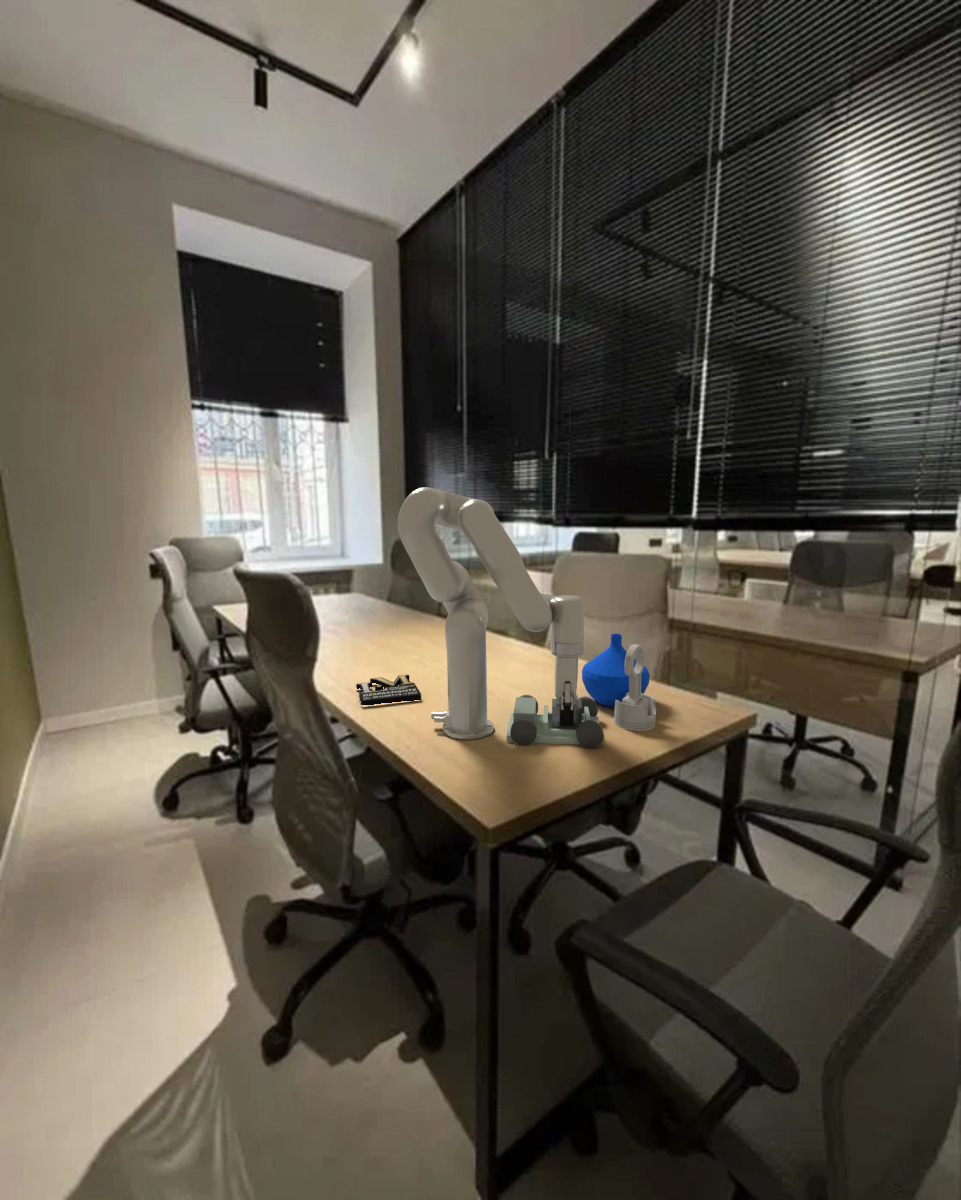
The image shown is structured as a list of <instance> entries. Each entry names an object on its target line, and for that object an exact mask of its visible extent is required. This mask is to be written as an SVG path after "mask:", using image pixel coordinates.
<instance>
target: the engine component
mask: <svg viewBox="0 0 961 1200" xmlns="http://www.w3.org/2000/svg"><path fill="white" fill-rule="evenodd" d="M626 651H627V653H626V657H625V674H626V675H628V676H629V692H628V693H627V694H626V697H624V698H623V700H622V702H619V701H618V700H615V707H614V715H613V716H614V720H613V721H614V724H615V725H616V726H617V727H619V728H621V729H623V728H624V730H627V729H628V731H632V730H634V731H633V732H645V730H646V731H650V729H651V730H653V729H654V728H656V720H657V719H656V717H657V714H656V713H657V707H656V702H657V701H656V700H657V699H656V698H655V697H654V696H653V695H649V694H647V693H644V694H643V693H641V673H642V671H643V668H644V666H645V664H646V651H645V649H644V647H643V646H642V645H641V644H634V643H633V644H631V645H630V646H629V647H628V649H627V650H626ZM635 657H636V658H635ZM634 658H635V659H636V664H635V667H634ZM652 728H653V729H652Z"/></svg>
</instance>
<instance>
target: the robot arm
mask: <svg viewBox="0 0 961 1200" xmlns="http://www.w3.org/2000/svg"><path fill="white" fill-rule="evenodd" d="M399 509H400V510H399V511H398V516H397V531H398V535H399V537H400V538H399V539H400V541H401V543H402V546H403V547H404V549H405V551H406V553H407V554H408V556H409V559H410V560H411V562H412V565H413V567H414V568H415V570H416V572H417V574H418V575H419V577H420V579H421V581H422V583H423V584H424V585H423V586H424V587H425V589H426V591H427V593H428V595H429V596H430V598H431V599H433V600H434V601H436V602H438V603H440V604H441V603H442V604H443V606H444V608H445V610H446V612H447V613H448V614H447V616H446V618H445V623H444V636H445V644H446V645H445V646H446V647H445V648H446V664H447V665H446V667H447V668H446V670H447V704H448V705H447V706H448V707H447V709H448V710H444V711H441V712H440V711H432V712H431V717H430V718H431V720H433V721H434V723H443V724H442V726H441V727H442V732H443V734H444V735H445V736H447V735H448V737H449V736H450V737H449V738H453V739H456V738H457V740H476V739H481V738H485V737H487V736H489V735H490V734H492V733H493V731H494V729H495V728H494V723H493V722H492V721H491V720H490V719H488V690H487V689H488V686H487V685H488V683H487V682H488V681H487V679H488V677H487V672H488V671H487V670H488V669H487V668H488V667H487V637H486V636H487V627H488V626H487V625H488V622H489V611H488V610H489V609H488V608H487V606H486V603H485V602H484V600H483V598H482V596H481V594H480V592H479V591H478V589H477V587H476V585H475V583H474V581H473V579H472V577H471V575H470V574H469V572H468V570H467V569H466V568H465V566H463V565H462V564H461V563H460V562H458V561H455V560H453V559H452V557H451V556H450V554H449V552H448V550H447V548H446V546H445V544H444V542H443V540H442V539H441V538H440V536H439V535H438V532H437V529H436V526H435V525H437V526H442V527H445V528H449V529H453V530H457V531H461V532H462V534H463V535H464V537H465V538H466V539H467V541H468V543H469V544H470V545H471V547H472V548H473V550H474V551H475V553H476V555H477V556H478V558H479V559H480V561H481V562H482V564H483V566H484V567H485V568H486V570H487V573H488V574H489V576H490V578H491V580H492V581H493V582H494V584H495V585H496V587H497V588H498V590H499V592H500V594H501V595H502V597H503V600H505V602H506V604H507V605H508V606H509V608H510V610H511V611H512V613H513V615H514V616H515V618H516V620H518V622H519V624H520V625H521V626H522V627H523V628H524V629H525V630H527V631H529V632H533V633H538V632H543V631H545V630H547V628H548V627H549V626H550V624H551V643H550V645H551V655H553V656H554V657H555V660H554V662H555V663H554V696H555V699H556V698H558V697H561V709H560V725H561V726H573V725H574V709H573V698H575V697H576V695H577V690H578V678H579V677H578V676H579V673H578V672H579V657H580V658H581V657H582V656H583V655H584V645H585V644H584V639H585V638H584V637H585V636H584V635H585V601H584V599H583V598H582V597H581V596H579V595H573V594H571V595H569V594H565V595H564V594H562V595H549V594H543V593H542V594H541V592H540V590H539V589H538V587H537V586H536V585H535V582H534V581H533V579H532V578H531V576H530V574H529V572H528V571H527V568H526V566H525V563H524V561H523V557H522V556H521V553H520V551H519V550H518V548H517V547H516V545H515V544H514V542H513V540H512V538H511V537H510V536H509V534H508V533H507V532H506V529H505V528H504V527H503V525H502V523H501V522H500V520H499V519H498V517H497V516H496V514H495V511H494V509H493V506H491V504H489V503H488V502H487V501H485V500H483V499H477V498H472V497H468V496H463V495H460V494H456V493H452V492H449V491H445V490H441V489H437V488H432V487H426V486H425V487H418V488H417V489H415V490H412V492H411V493H409V495H407V497H406V498H405V499H404V501H403V503H402V505H401V507H400V508H399ZM563 695H565V697H564V696H563ZM570 695H571V697H570ZM563 699H565V701H564V702H563ZM570 699H571V702H570Z"/></svg>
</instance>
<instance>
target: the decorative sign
mask: <svg viewBox="0 0 961 1200" xmlns="http://www.w3.org/2000/svg"><path fill="white" fill-rule="evenodd" d="M372 683H376V684H378V685H376V686H374V690H371V689H370V687H372V688H373V686H372ZM398 685H399V686H398ZM355 687H356V688H357V689H359V688H360V689H361V691H360V692H359V693H358V698H360V700H359V702H360V701H361V703H360V706H361V705H374V704H381V703H392V702H401V701H414V700H421V701H422V692H421V691H420V690H419V688H418V687H417V685H416V683H415V682H410V674H400V675H398V676H397V677H396V679H395V680H394V681H391V680H389V679H386V678H384V677H380V676H379V677H372V678H370V679H369V681H368V682H362V683H359V682H358V683H356V685H355ZM383 687H384V689H383ZM356 688H355V689H356Z"/></svg>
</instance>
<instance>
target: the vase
mask: <svg viewBox="0 0 961 1200" xmlns="http://www.w3.org/2000/svg"><path fill="white" fill-rule="evenodd" d="M622 636H623V635H622V634H621V633H612V634H610V644H609V646H608V648H607V649H605V650H603V651H602V652H601V653H599V654H598V655H596V656H595V657H594V658H592V659H591V660H589V661H588V662H586V663H584V665H583V667H582V670H581V681H582V683H583V686H584V688H585V690H586V692H587V693H588V695H589V697H590V698H592V699H593V700H594V701H595V702H596V703H598V704H600V705H602V706H605V707H610V708H615V700H618V701H619V702H622V700H623V698H624V697H626V694H627V693H628V692H629V676H628V675H626V674H625V657H626V653H627V651H628V650H625V648H624V646H623V643H622V640H623V637H622ZM635 664H636V658H634V667H635ZM649 683H650V672H649V669H648V667H647V666H646V665H644V668H643V671H642V673H641V693H643V694H646V691H647V688H648V686H649Z"/></svg>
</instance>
